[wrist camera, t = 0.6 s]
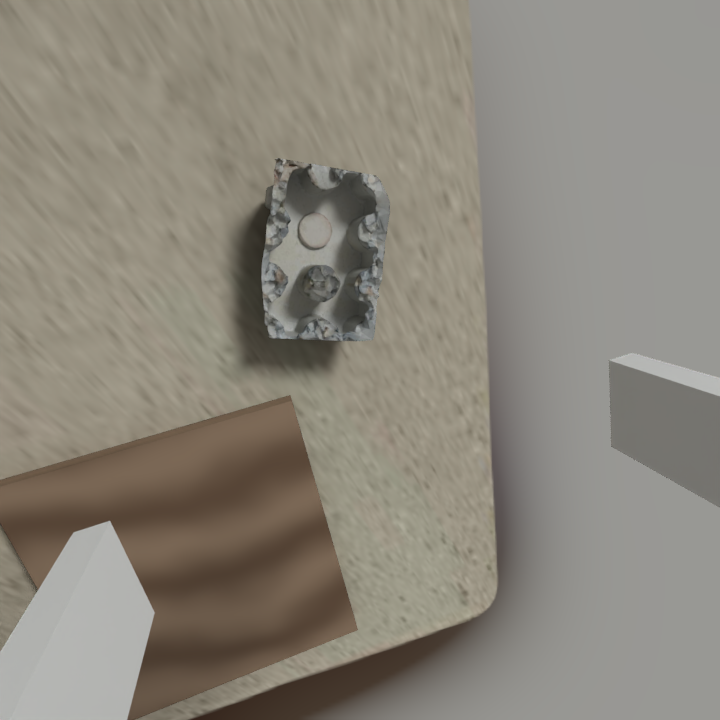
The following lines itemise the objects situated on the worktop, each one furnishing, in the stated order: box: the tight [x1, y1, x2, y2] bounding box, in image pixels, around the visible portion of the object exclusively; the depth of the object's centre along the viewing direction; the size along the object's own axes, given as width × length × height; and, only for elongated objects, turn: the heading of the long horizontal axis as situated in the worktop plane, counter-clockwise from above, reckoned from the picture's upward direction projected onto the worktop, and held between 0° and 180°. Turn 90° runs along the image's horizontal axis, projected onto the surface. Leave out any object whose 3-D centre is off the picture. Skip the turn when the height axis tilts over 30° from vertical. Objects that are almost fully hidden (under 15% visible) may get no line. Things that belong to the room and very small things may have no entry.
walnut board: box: [0, 396, 358, 720], centre depth 32 cm, size 22×20×1 cm
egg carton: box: [261, 158, 390, 341], centre depth 27 cm, size 11×8×4 cm
